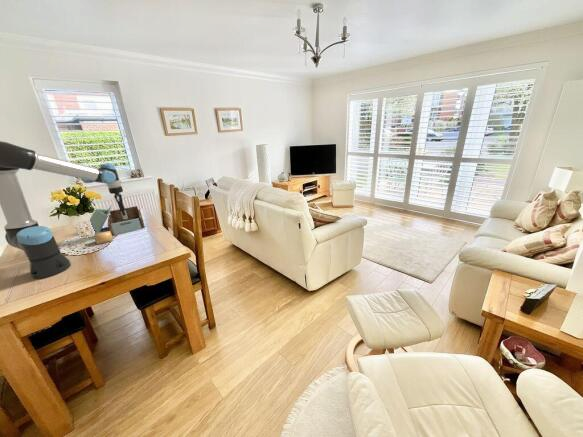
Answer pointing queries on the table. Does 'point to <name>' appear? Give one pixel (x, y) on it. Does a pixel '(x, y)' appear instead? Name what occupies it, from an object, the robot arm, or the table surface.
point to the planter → (99, 218)
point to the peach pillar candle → (103, 237)
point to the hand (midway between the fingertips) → (125, 219)
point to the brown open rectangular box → (117, 217)
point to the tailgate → (126, 226)
